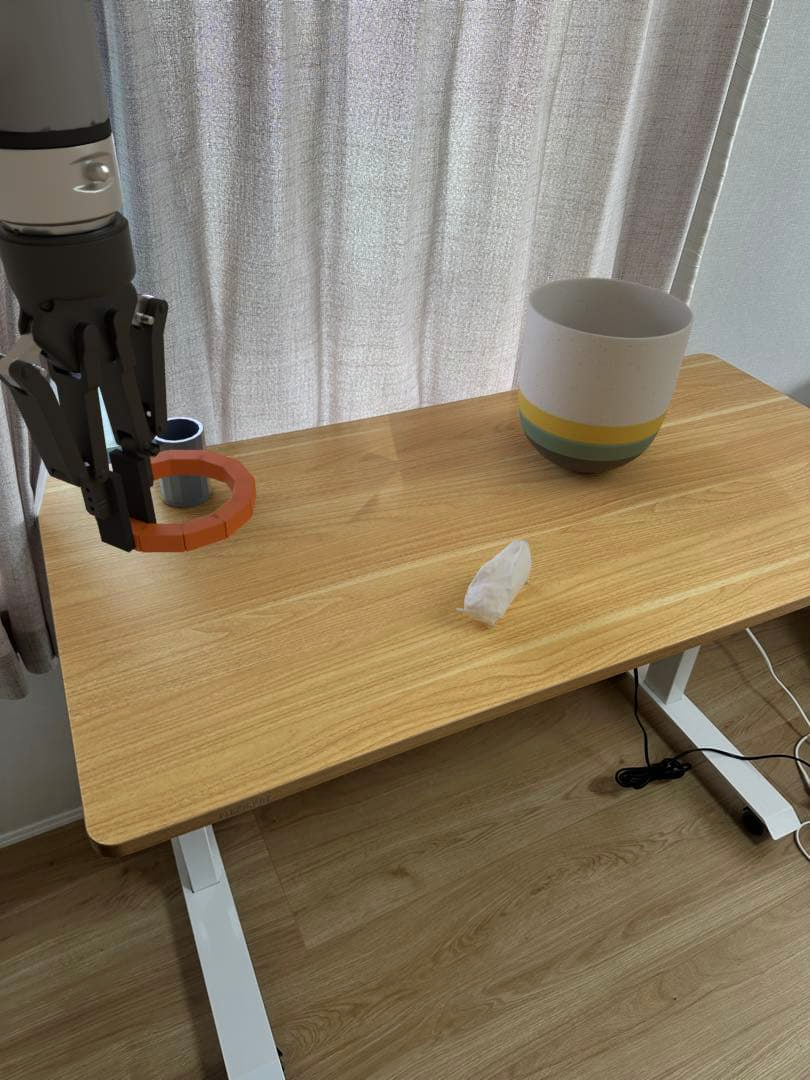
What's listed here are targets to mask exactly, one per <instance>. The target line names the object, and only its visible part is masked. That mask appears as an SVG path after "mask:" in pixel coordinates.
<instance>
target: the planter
mask: <svg viewBox="0 0 810 1080" xmlns="http://www.w3.org/2000/svg"><path fill="white" fill-rule="evenodd" d="M694 320H695V319H694V313H693V311H692V309H691V308H690V306H688V305H687V304H686V302H684V301H683V300H681V299H679V298H678V297H677V296H675V295H672V294H670V293H668V292H666V291H664V290H661V289H658V288H657V287H653V286H651V285H650V286H649V285H646V284H642V283H637V282H633V281H629V280H622V279H615V278H606V277H569V278H563V279H556V280H551V281H549V282H546V283H542V284H541V285H539V286H537V287H535V288H534V289H533V290H532V291H531V292H530V293H529V295H528V298H527V305H526V312H525V320H524V327H523V328H524V329H523V336H522V345H521V354H520V364H519V376H518V387H517V388H518V389H517V405H518V406H517V407H518V415H519V421H520V425H521V428H522V431H523V433H524V435H525V437H526V439H527V440H528V441H529V443H530V444H531V446H532V447H533V448H534V449H535V451H537V453H539V454H540V455H541V456H542V457H544V458H545V459H546V460H548V461H549V462H550V463H552V464H554V465H556V466H558V467H560V468H563V469H564V470H565V469H566V470H568V471H572V472H577V473H583V474H584V473H586V474H595V473H605V472H609V471H612V470H616V469H618V468H621V467H624V466H626V465H627V464H629V463H631V462H633V461H634V460H635V459H638V458H639V457H640V456H641V455H642V454H643V453H645V452H646V451H647V450H648V448H649V447H650V446H651V444H652V443H653V442H654V440H655V439H656V437H657V435H658V433H659V431H660V430H661V428H662V426H663V424H664V421H665V419H666V416H667V414H668V410H669V407H670V404H671V401H672V398H673V394H674V391H675V388H676V385H677V381H678V378H679V375H680V372H681V368H682V364H683V362H684V361H683V360H684V359H685V358H684V357H685V354H686V350H687V348H688V347H687V346H688V343H689V340H690V335H691V332H692V327H693V324H694Z"/></svg>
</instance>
